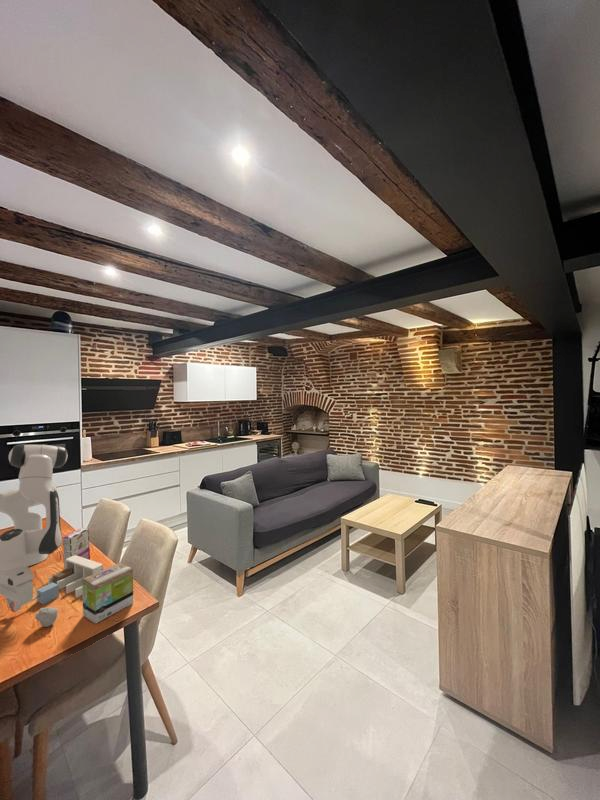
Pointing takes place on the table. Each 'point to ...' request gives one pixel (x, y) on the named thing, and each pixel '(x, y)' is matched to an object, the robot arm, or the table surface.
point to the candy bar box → (76, 544)
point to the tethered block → (45, 594)
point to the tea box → (107, 592)
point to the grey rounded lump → (46, 616)
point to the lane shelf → (77, 574)
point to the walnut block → (61, 575)
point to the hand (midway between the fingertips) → (14, 608)
